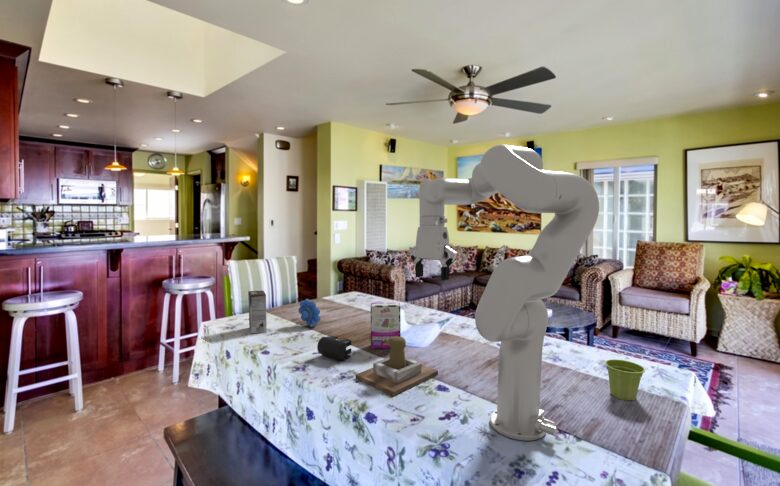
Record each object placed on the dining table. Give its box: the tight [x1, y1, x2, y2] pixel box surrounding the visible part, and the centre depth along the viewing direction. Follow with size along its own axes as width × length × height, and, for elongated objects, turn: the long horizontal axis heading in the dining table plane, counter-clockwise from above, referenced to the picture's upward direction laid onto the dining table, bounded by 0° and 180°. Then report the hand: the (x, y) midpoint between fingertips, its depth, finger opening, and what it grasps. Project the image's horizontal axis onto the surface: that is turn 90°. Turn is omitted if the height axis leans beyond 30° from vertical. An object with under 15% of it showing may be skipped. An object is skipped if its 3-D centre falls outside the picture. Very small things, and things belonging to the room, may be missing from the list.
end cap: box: [316, 335, 352, 361], centre depth 133 cm, size 10×7×7 cm
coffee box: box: [248, 290, 267, 334], centre depth 163 cm, size 9×6×16 cm
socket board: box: [355, 356, 439, 397], centre depth 118 cm, size 16×20×4 cm
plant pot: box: [604, 359, 646, 401], centre depth 106 cm, size 9×9×9 cm
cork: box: [388, 336, 407, 370], centre depth 117 cm, size 6×6×11 cm
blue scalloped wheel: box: [297, 298, 322, 327], centre depth 168 cm, size 12×7×12 cm, turn 65°
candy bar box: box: [370, 302, 401, 350], centre depth 143 cm, size 11×5×16 cm, turn 92°
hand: (431, 278), depth 117 cm, fingers open, 9 cm apart
